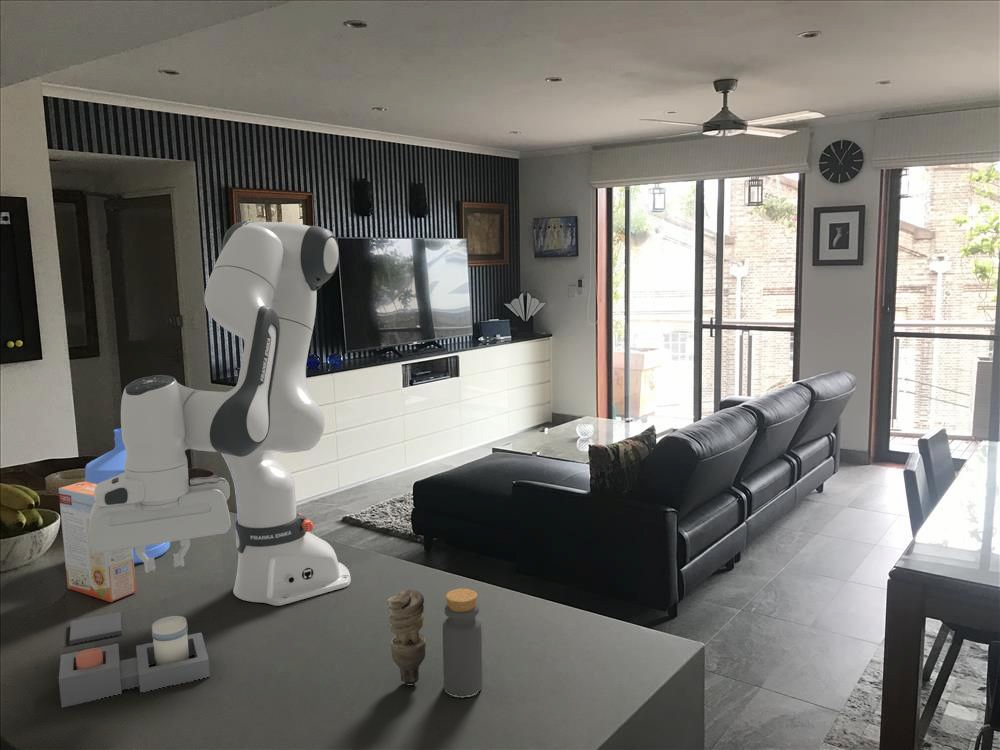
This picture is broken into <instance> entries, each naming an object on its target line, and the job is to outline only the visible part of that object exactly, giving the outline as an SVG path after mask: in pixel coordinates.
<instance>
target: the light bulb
mask: <svg viewBox="0 0 1000 750" xmlns="http://www.w3.org/2000/svg"><path fill="white" fill-rule="evenodd" d="M424 603H425V598H424V596H423V594H422V593H421V592H420V591H418V590H415V589H404V590H402V591H400V592H398V594H397V595H394V596H390V597H389V598H388V599H387V600H386V604H387V606H388V608H387V613H388V615H390V616H389V617H388V620H389V623H390V624H391V627H390V631H391V633H393V634H396V635H395V636H394V637H392V639H391V641H390V652H391V658H392V660H393V662H394V663H395V664H396V665H397V666H398V668H399V672H400V681H402V682H403V683H405V685H406V684H414V685H415V683H418V681H419V680H420V666H421V664H422V663H423V661H424V659H425V657H426V647H427V644H426V639H425V637H424V635H422V634H419V633H420V632H419V631H420V630H421V629H422V628H423V625H424V619H425V615H424V612H425V605H424Z"/></svg>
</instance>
